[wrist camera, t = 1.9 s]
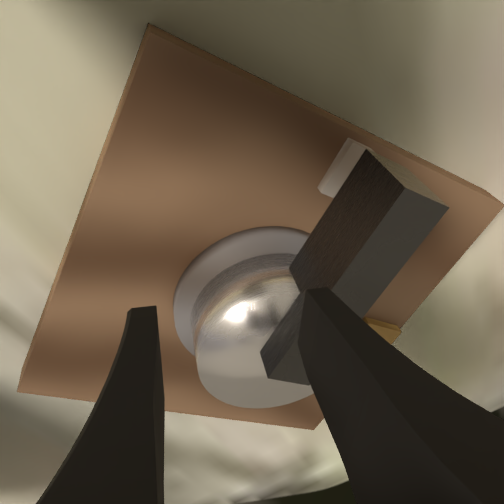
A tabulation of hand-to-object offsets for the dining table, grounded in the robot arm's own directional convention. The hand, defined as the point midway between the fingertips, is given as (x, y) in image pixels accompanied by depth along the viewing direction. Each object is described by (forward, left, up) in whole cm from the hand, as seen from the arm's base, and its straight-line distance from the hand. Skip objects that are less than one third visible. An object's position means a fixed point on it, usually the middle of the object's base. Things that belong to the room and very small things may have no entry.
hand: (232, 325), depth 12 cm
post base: (-4, -5, -9) cm, 12 cm away
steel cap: (-2, -5, -7) cm, 9 cm away
